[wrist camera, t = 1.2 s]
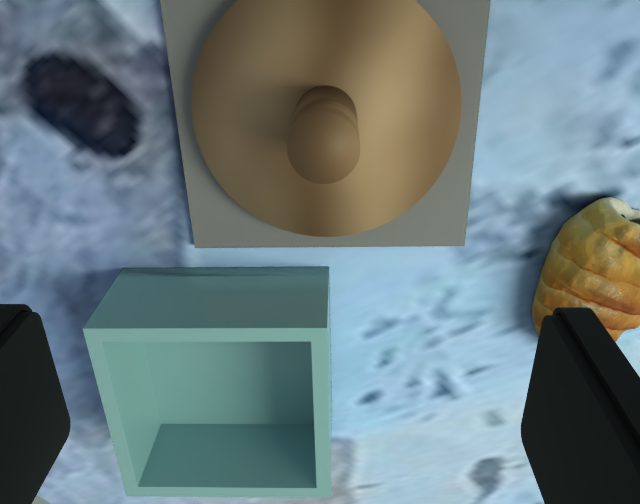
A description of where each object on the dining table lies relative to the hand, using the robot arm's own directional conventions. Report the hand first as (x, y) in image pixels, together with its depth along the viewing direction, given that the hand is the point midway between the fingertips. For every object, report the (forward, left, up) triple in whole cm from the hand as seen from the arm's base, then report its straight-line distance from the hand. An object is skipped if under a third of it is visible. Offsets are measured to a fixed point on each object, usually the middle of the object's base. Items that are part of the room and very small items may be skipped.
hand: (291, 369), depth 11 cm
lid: (0, 0, -20) cm, 20 cm away
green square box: (+6, +15, -20) cm, 26 cm away
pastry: (-16, +9, -21) cm, 28 cm away
